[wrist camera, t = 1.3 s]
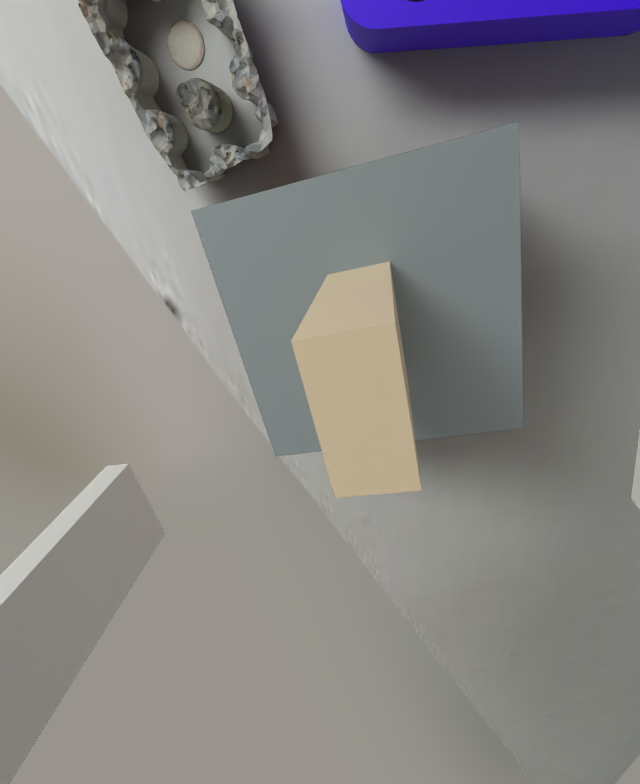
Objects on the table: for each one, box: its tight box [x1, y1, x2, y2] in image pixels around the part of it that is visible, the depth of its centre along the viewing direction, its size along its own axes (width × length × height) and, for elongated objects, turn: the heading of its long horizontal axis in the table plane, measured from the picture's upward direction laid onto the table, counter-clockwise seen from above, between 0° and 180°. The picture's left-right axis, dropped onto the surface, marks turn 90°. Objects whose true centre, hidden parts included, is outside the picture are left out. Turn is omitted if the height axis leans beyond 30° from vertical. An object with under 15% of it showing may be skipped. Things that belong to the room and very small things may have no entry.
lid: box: [191, 122, 524, 498], centre depth 17 cm, size 14×14×10 cm
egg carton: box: [78, 0, 278, 192], centre depth 23 cm, size 11×8×4 cm
